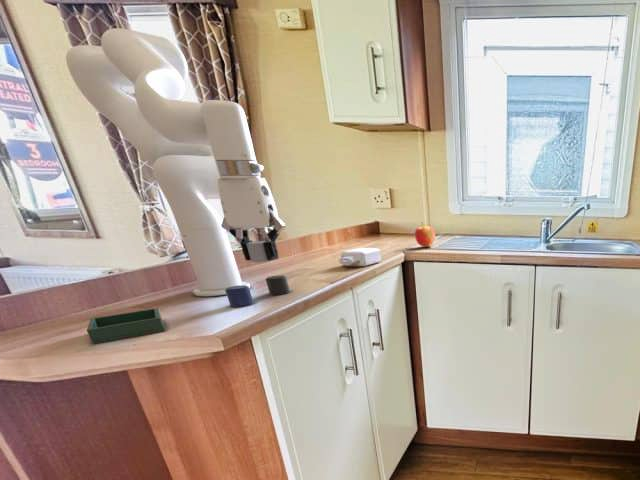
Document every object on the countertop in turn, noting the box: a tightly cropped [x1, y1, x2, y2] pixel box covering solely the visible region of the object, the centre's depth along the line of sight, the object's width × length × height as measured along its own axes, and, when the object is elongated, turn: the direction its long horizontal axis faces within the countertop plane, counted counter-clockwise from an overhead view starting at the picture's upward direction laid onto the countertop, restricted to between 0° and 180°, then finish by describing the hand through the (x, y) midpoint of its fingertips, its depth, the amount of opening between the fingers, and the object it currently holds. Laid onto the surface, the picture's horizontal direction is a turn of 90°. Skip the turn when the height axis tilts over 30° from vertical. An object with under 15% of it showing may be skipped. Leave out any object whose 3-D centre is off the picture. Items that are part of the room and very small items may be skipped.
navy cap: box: [225, 285, 254, 308], centre depth 96 cm, size 5×5×4 cm
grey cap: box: [247, 240, 270, 263], centre depth 96 cm, size 5×5×4 cm
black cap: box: [265, 274, 291, 296], centre depth 106 cm, size 5×5×4 cm
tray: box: [86, 307, 166, 345], centre depth 80 cm, size 10×10×3 cm
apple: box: [414, 223, 436, 248], centre depth 177 cm, size 8×8×10 cm
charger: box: [337, 247, 382, 268], centre depth 139 cm, size 5×9×15 cm
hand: (262, 258), depth 97 cm, fingers closed on grey cap, 4 cm apart
